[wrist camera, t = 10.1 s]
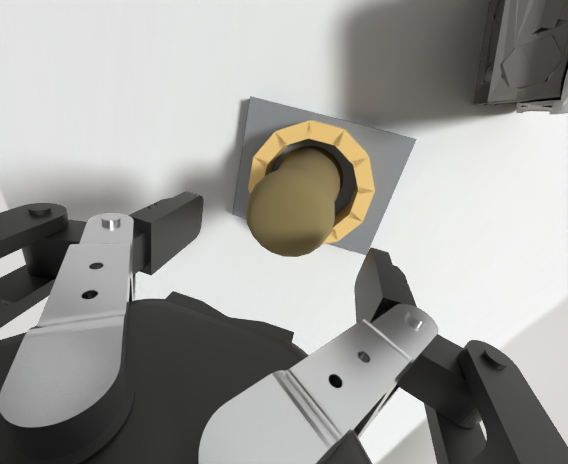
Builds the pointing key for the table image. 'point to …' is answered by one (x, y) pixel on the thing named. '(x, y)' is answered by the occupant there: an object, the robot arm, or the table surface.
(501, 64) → the electrical switch
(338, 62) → the table surface
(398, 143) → the collar plate
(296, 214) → the cork
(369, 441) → the table surface
